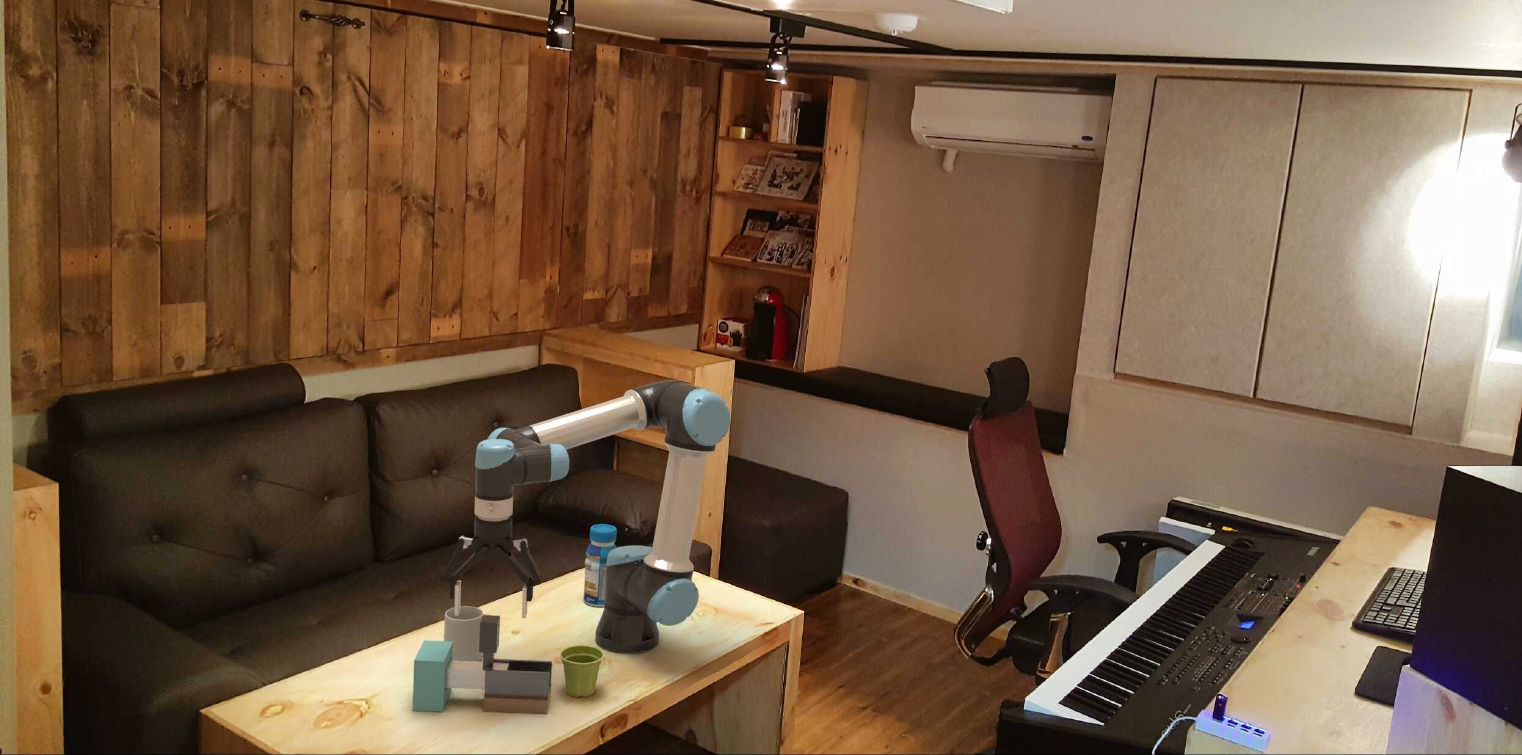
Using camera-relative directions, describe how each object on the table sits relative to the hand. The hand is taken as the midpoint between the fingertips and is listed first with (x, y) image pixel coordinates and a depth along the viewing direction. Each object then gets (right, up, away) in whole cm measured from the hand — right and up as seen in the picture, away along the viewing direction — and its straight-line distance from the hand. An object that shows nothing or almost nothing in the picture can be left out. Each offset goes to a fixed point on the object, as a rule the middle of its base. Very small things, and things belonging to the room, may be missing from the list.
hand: (491, 614), depth 247 cm
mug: (-10, -15, +24) cm, 30 cm away
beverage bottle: (+14, -9, +63) cm, 65 cm away
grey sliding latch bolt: (-5, -15, +2) cm, 16 cm away
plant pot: (+17, -19, +12) cm, 28 cm away
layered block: (+5, -19, +4) cm, 20 cm away
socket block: (-13, -18, +2) cm, 22 cm away
